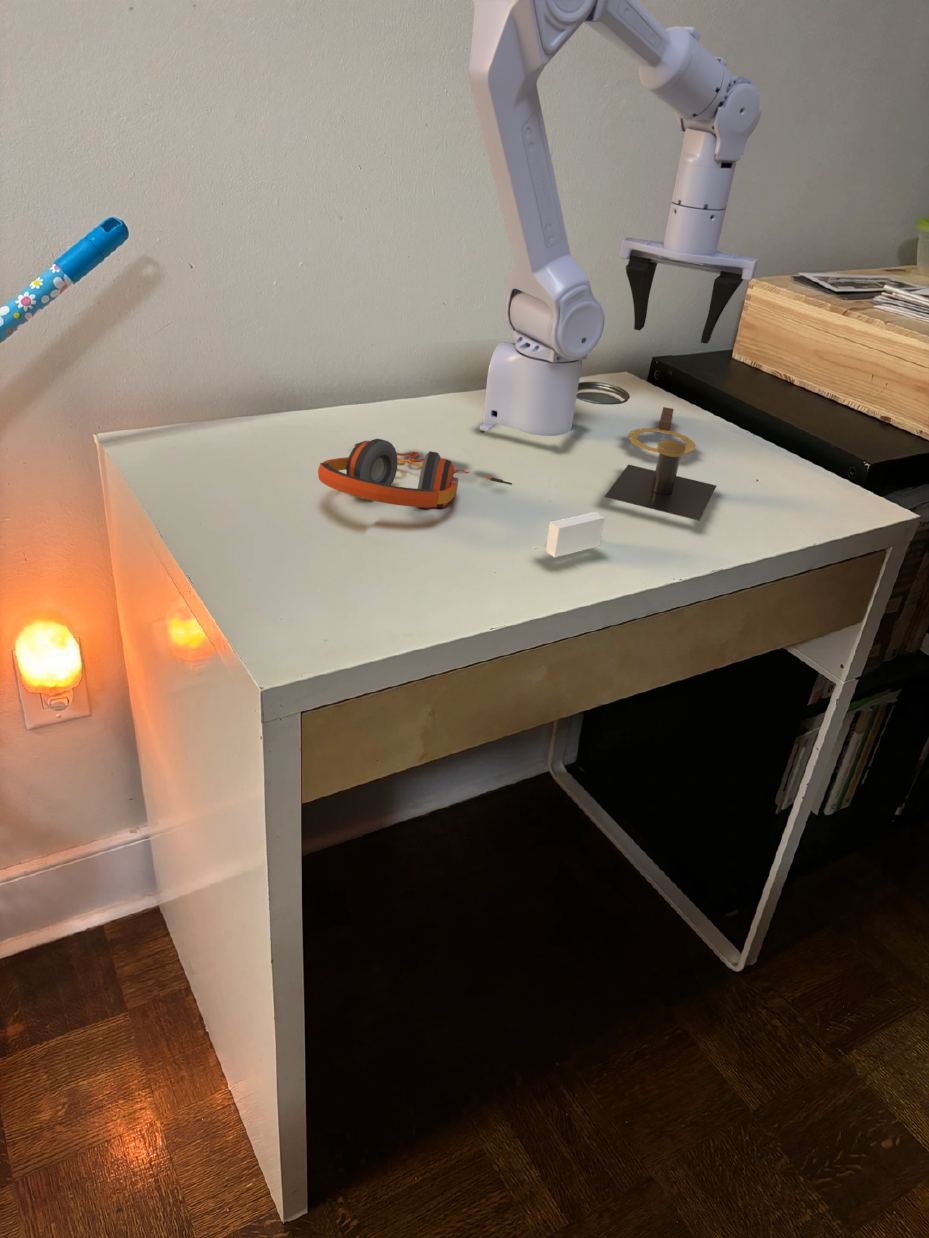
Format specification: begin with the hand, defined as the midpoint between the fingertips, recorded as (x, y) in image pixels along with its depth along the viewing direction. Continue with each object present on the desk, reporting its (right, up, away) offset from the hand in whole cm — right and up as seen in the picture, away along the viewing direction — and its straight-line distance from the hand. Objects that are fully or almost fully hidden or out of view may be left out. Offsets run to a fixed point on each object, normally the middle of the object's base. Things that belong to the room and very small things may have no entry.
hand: (671, 334), depth 105 cm
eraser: (-15, -27, -27) cm, 41 cm away
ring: (-2, -13, -3) cm, 13 cm away
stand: (-5, -21, -16) cm, 26 cm away
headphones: (-29, -21, -20) cm, 41 cm away
